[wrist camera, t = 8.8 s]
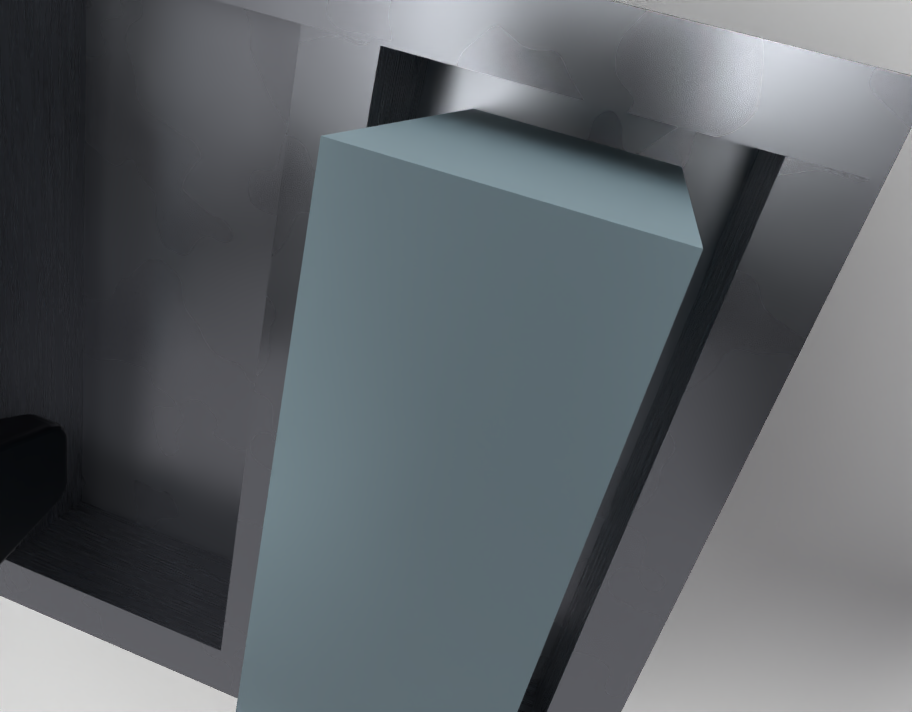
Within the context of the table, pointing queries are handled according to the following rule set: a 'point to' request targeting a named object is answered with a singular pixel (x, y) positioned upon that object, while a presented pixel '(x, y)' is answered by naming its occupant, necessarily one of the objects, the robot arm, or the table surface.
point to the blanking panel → (454, 406)
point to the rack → (280, 260)
